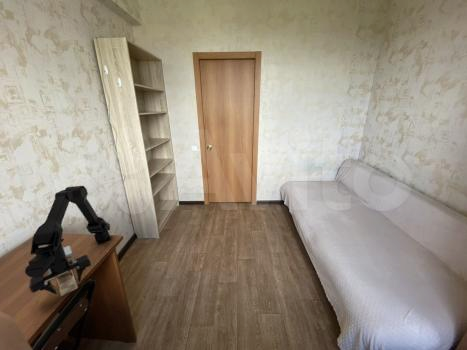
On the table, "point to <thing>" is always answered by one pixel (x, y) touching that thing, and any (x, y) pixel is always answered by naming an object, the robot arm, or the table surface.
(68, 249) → the tunnel
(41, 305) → the table surface
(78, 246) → the table surface
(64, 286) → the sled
